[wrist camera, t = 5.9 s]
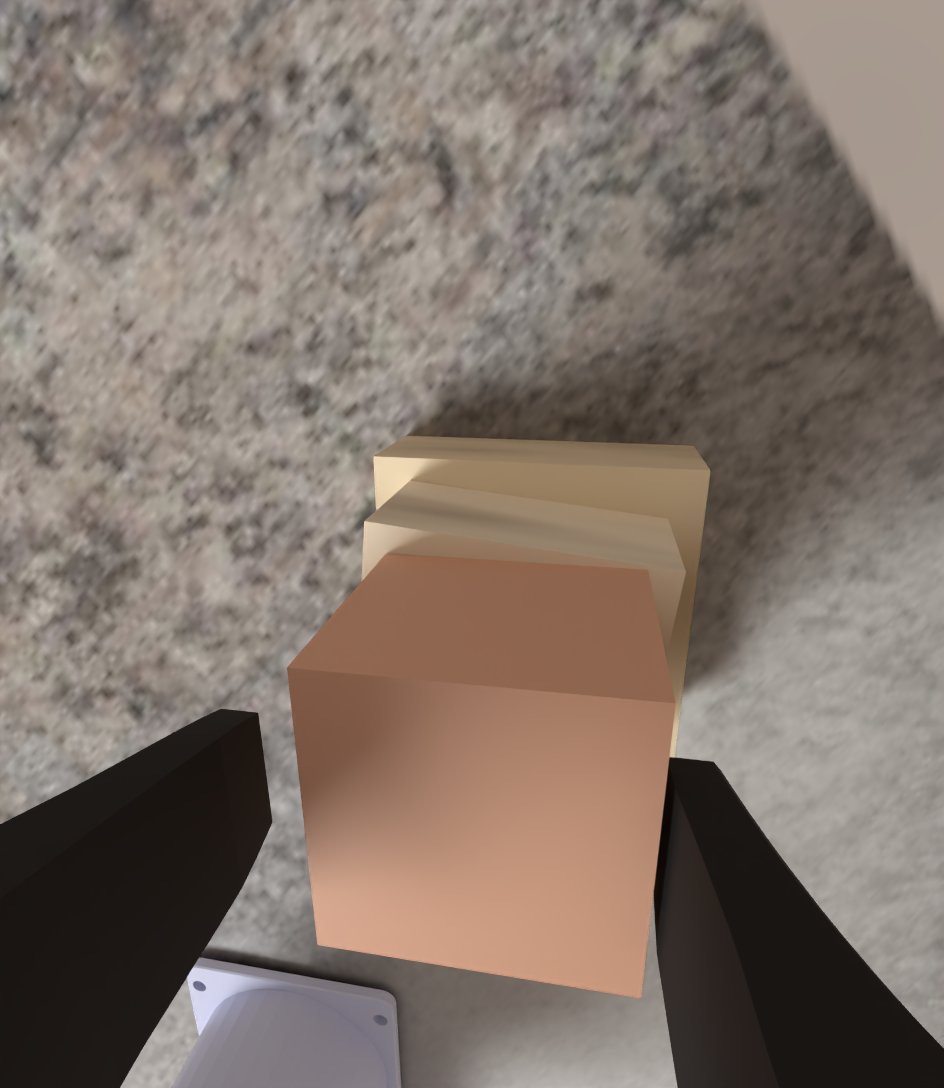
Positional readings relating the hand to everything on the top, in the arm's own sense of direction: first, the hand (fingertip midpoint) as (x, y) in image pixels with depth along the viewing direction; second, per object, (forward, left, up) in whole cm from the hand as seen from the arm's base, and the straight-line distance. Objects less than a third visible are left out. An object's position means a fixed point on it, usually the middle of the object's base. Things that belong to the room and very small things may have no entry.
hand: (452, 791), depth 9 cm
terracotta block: (0, 0, -3) cm, 3 cm away
